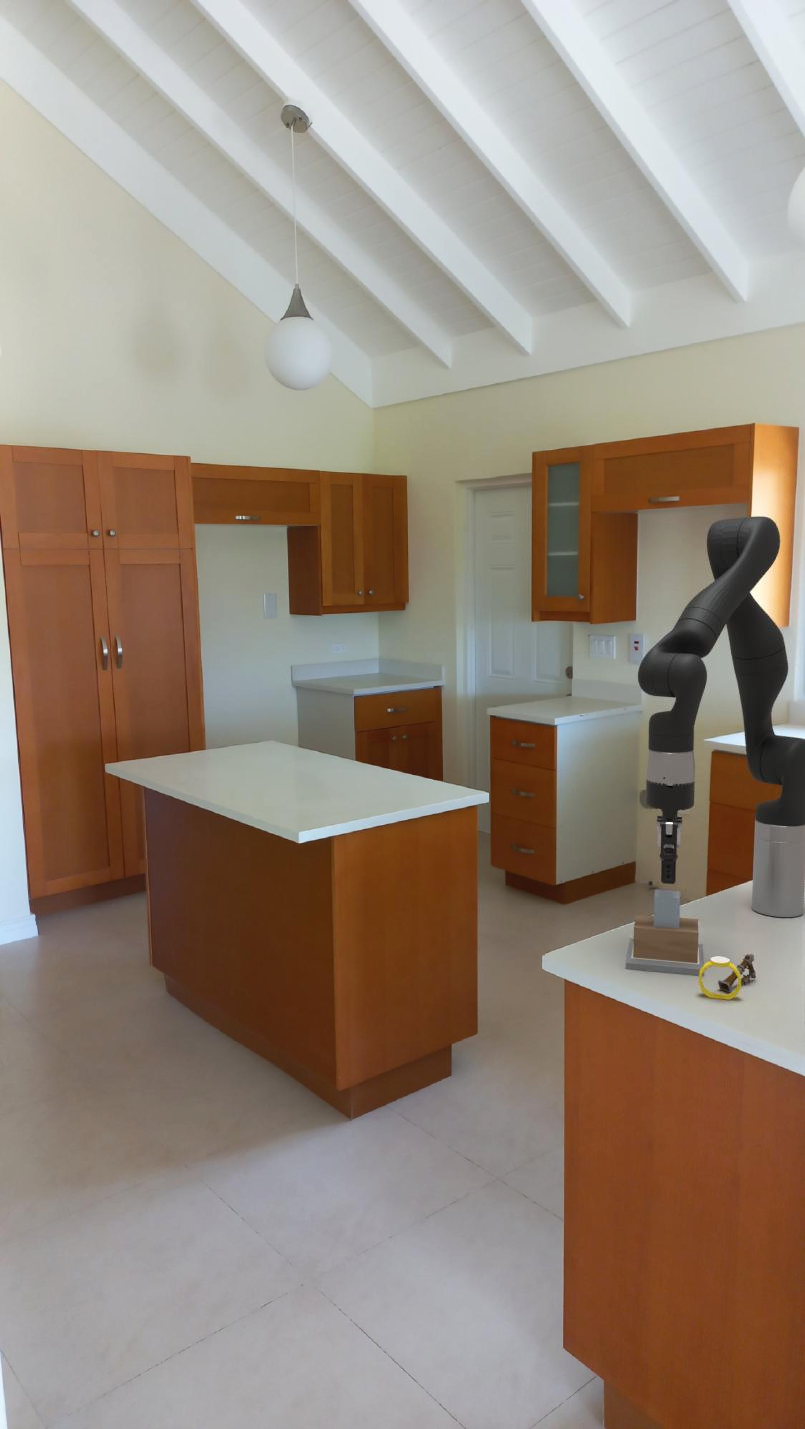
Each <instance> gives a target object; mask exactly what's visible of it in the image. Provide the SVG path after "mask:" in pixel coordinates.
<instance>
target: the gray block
mask: <svg viewBox="0 0 805 1429" xmlns="http://www.w3.org/2000/svg"><path fill="white" fill-rule="evenodd" d="M653 901H654V903H653V916H654V926H655V927H667V928H679V918H681V917H680V914H681V912H680V911H681V891H680V890H666V889H657V888H656V889H654V899H653Z"/></svg>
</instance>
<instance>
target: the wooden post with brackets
mask: <svg viewBox="0 0 805 1429" xmlns="http://www.w3.org/2000/svg"><path fill="white" fill-rule="evenodd" d="M754 958H755V955H754V954H753V953H750V954H749V953H747V954H746V955H744V958H743V959H742V961H741V963H739V964H738V965H736V966H735V967H736V968H737V969H738V971H739V973H740V975H741V976H742V977H741V986H744V985H745V986H747V985H746V984H748V983H751V979H754V980H755V979H756V978H757V976H756V975H757V973H756V970H755V969H754V965H753V962H754V961H755V959H754ZM746 969H747V970H748V974H744V973H745V970H746ZM737 980H738V977H737V975H736V974H735V972H734V971H733V970H732V971H731V974H729V976H728V977H726V978H725V979H723V980H720V979H719V980H717V984H718V987H719V990H722V991H725V992H727V993H729V994H730V993H732V989H731V988H732V986H734V983H735V982H736V981H737Z"/></svg>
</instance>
